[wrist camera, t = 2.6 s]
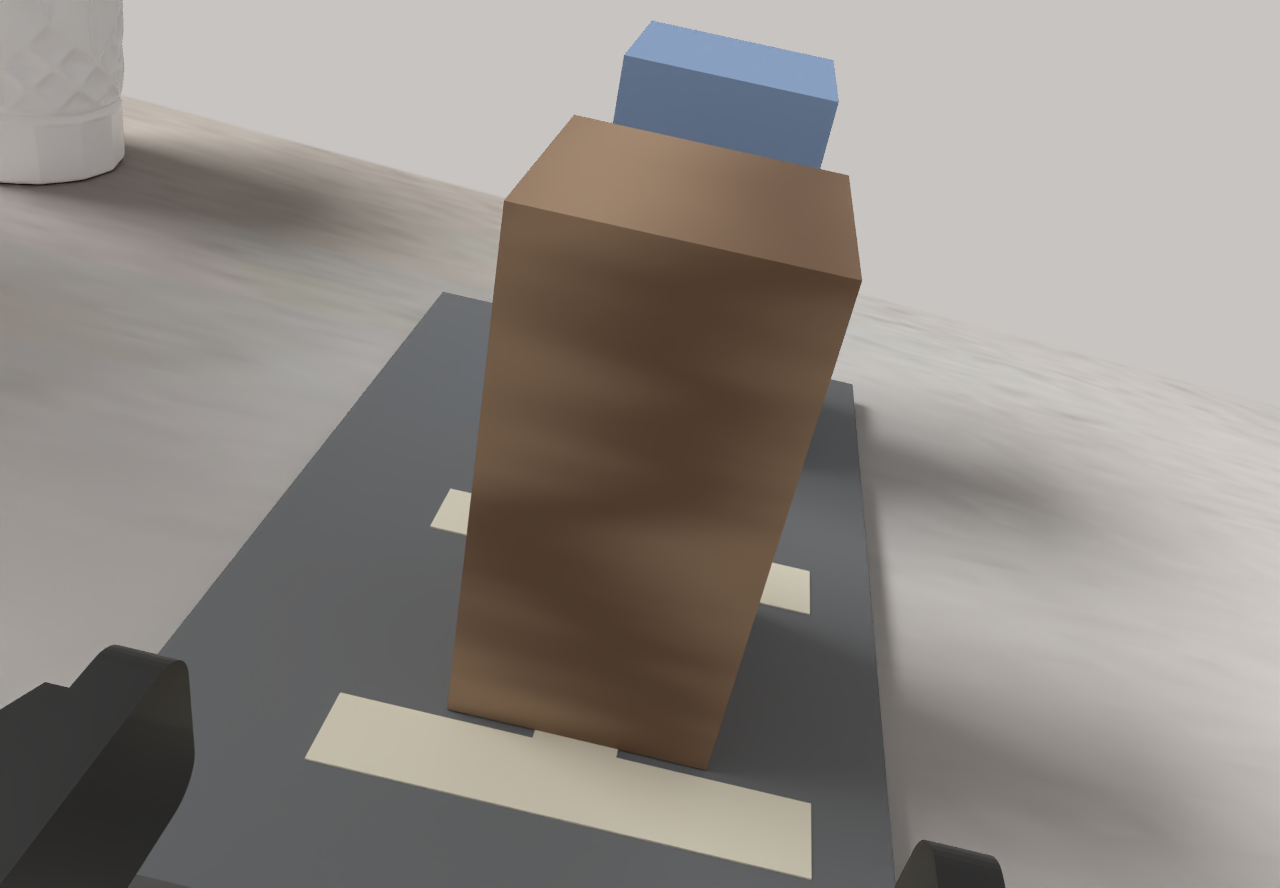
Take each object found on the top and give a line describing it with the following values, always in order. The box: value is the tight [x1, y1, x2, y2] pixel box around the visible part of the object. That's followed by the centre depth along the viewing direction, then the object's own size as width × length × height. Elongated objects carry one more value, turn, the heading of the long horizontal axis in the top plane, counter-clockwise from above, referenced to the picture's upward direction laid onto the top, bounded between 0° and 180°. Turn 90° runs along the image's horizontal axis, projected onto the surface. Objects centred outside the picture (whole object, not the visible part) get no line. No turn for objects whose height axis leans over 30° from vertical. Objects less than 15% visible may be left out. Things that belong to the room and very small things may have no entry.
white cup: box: [0, 0, 125, 184], centre depth 37 cm, size 8×8×10 cm
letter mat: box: [128, 292, 895, 888], centre depth 25 cm, size 14×22×1 cm, turn 172°
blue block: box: [613, 21, 839, 169], centre depth 28 cm, size 5×5×10 cm
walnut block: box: [447, 115, 862, 770], centre depth 19 cm, size 5×5×10 cm
